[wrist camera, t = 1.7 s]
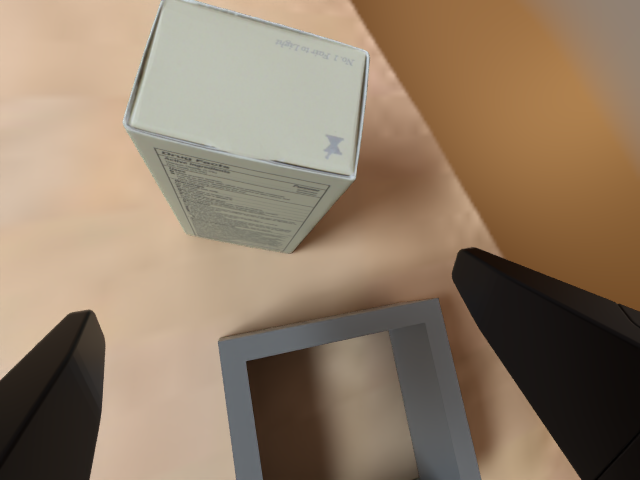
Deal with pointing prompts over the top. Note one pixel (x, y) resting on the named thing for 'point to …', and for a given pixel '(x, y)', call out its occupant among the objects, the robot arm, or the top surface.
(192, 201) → the skincare box
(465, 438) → the gray rectangular frame
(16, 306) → the top surface
